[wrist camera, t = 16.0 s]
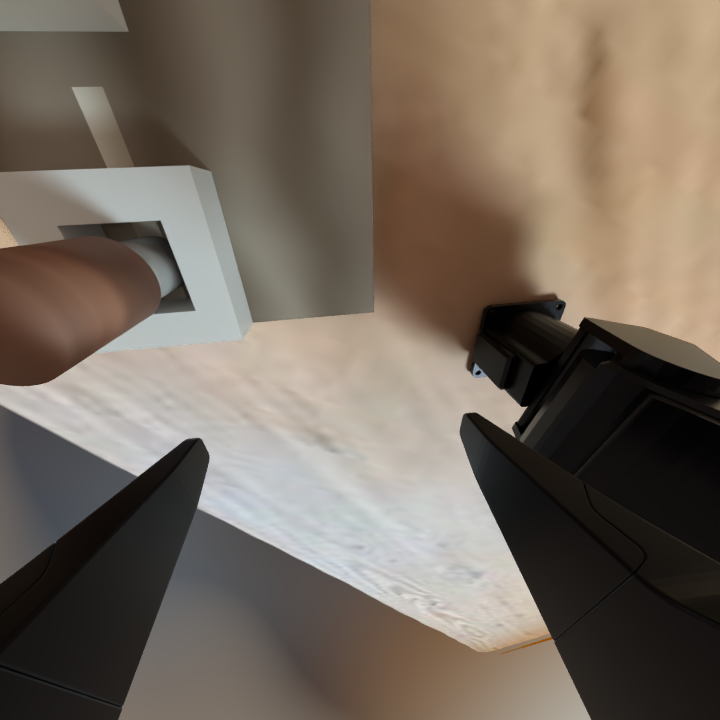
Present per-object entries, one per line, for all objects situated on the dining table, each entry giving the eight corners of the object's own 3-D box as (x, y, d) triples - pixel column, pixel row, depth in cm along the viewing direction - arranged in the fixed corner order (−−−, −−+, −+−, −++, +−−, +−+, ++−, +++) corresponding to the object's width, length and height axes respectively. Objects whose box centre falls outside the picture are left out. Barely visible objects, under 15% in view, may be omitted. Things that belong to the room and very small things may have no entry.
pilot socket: (211, 171, 13) (189, 165, 11) (252, 322, 17) (243, 339, 15) (32, 178, 12) (-30, 173, 10) (121, 333, 16) (91, 353, 14)
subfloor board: (354, -439, 7) (361, -571, 6) (370, 304, 19) (374, 312, 18) (-434, -564, 6) (-642, -774, 5) (104, 326, 17) (86, 336, 16)
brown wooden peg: (183, 225, 14) (8, 255, 6) (207, 292, 16) (94, 379, 8) (110, 229, 14) (-168, 265, 6) (143, 297, 15) (-36, 392, 8)
